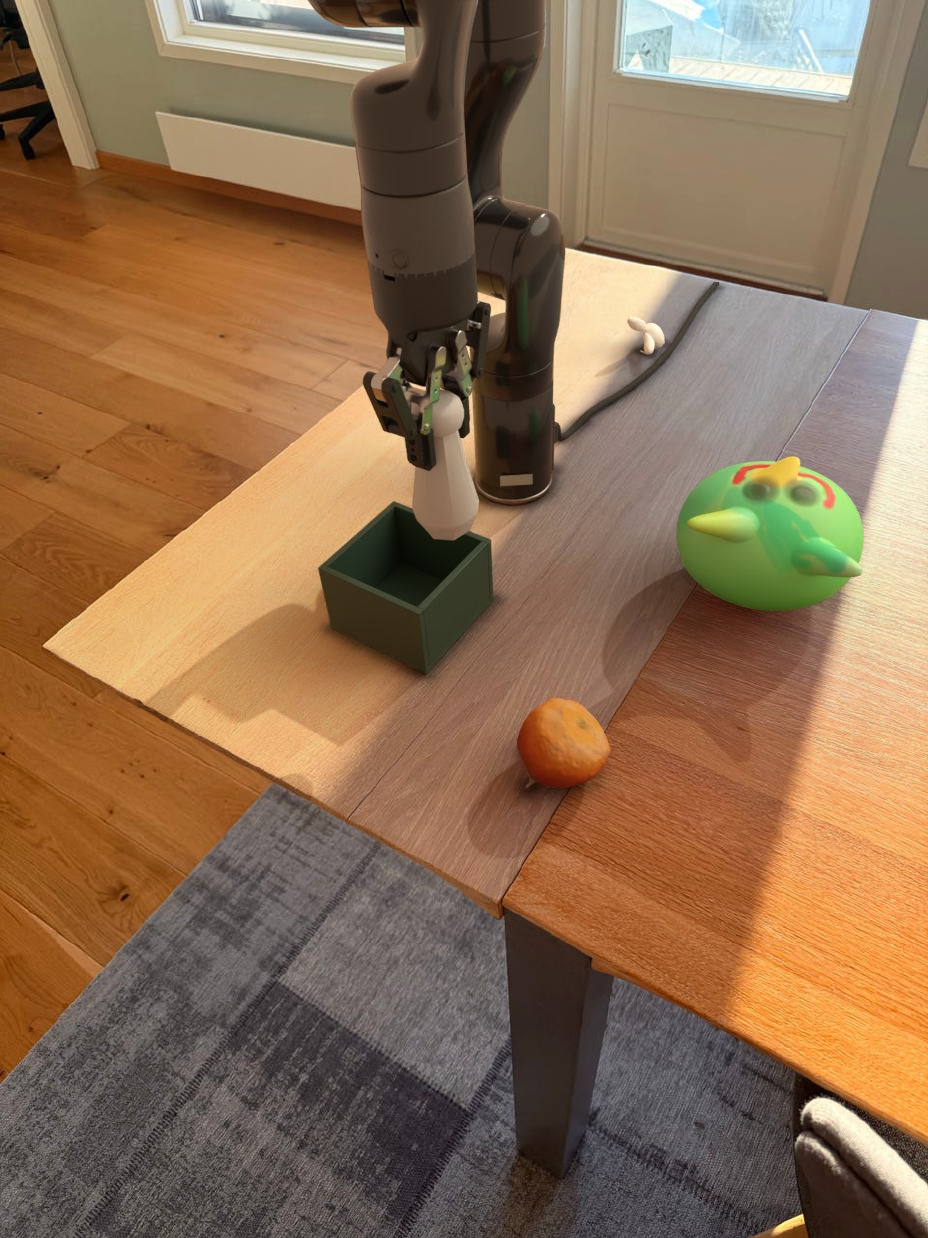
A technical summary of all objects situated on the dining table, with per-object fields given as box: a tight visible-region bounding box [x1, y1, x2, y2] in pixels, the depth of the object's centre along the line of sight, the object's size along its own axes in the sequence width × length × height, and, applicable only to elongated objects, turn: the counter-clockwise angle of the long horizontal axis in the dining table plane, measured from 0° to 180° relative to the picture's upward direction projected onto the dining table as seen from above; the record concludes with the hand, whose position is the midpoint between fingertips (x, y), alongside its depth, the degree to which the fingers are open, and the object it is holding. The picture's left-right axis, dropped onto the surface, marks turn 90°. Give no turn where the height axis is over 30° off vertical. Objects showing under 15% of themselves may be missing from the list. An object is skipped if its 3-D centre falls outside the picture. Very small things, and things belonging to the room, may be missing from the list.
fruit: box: [516, 697, 612, 790], centre depth 79 cm, size 8×8×8 cm
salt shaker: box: [411, 388, 480, 540], centre depth 76 cm, size 6×6×13 cm
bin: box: [317, 500, 494, 675], centre depth 93 cm, size 12×12×9 cm
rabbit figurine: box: [626, 316, 666, 356], centre depth 130 cm, size 6×4×8 cm
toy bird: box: [675, 455, 865, 612], centre depth 91 cm, size 18×17×15 cm
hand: (440, 449), depth 74 cm, fingers closed on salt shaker, 4 cm apart
